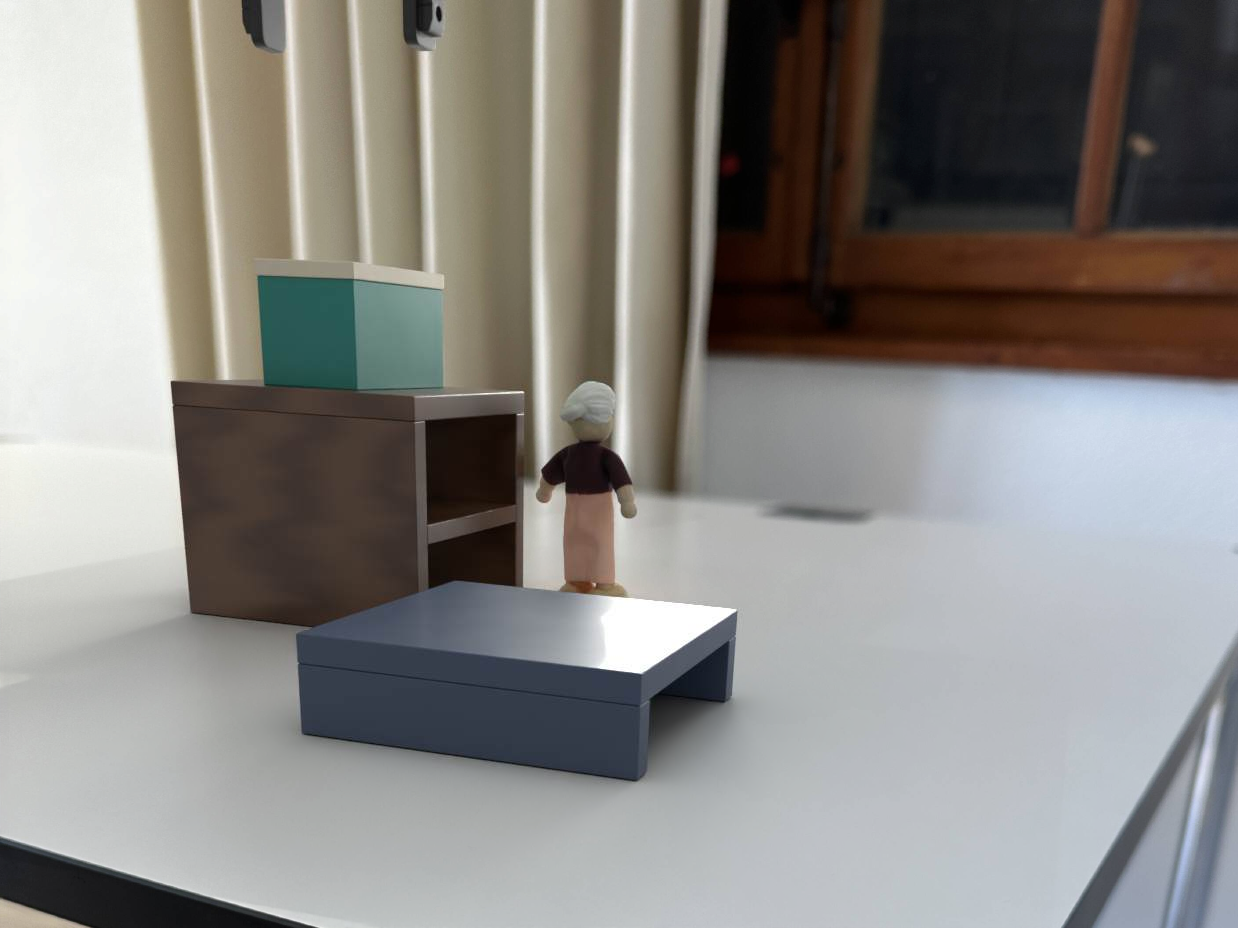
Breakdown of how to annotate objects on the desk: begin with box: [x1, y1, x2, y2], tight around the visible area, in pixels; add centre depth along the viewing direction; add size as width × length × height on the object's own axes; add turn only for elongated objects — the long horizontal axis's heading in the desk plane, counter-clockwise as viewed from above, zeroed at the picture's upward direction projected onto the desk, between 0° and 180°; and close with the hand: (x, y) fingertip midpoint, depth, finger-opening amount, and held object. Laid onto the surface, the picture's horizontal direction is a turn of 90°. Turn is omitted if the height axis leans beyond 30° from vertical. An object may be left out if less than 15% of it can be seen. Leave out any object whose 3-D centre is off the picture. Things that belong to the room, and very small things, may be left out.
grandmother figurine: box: [535, 380, 638, 598], centre depth 81 cm, size 8×4×13 cm, turn 65°
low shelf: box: [295, 581, 739, 781], centre depth 55 cm, size 14×14×4 cm
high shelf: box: [170, 378, 525, 628], centre depth 75 cm, size 14×14×12 cm
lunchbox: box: [252, 257, 445, 390], centre depth 71 cm, size 6×10×6 cm, turn 163°
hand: (343, 49), depth 66 cm, fingers open, 8 cm apart
